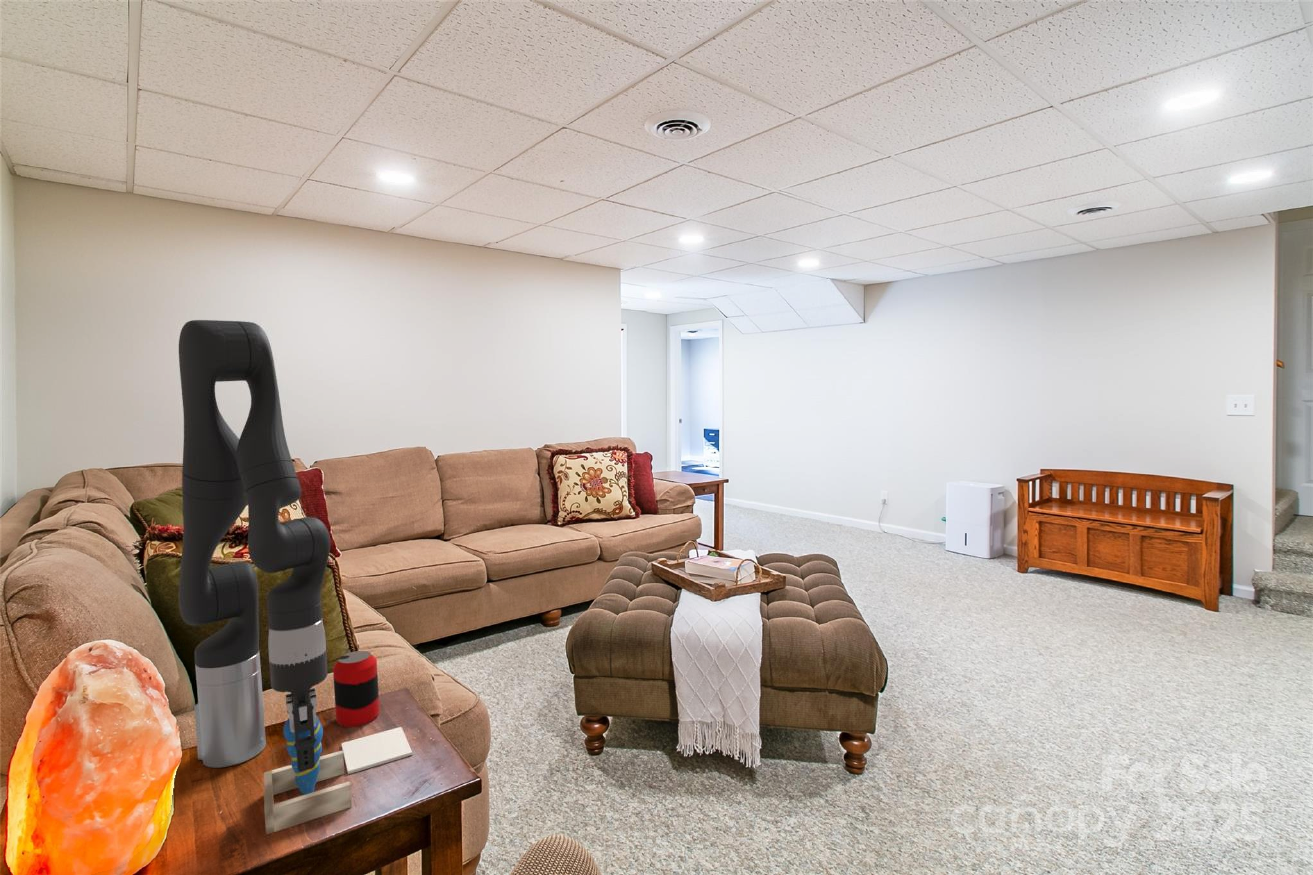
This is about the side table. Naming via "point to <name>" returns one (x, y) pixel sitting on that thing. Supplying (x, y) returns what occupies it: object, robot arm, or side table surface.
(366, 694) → the soda can
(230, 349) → the robot arm
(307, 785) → the ornament
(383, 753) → the pad
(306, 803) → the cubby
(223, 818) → the side table surface
